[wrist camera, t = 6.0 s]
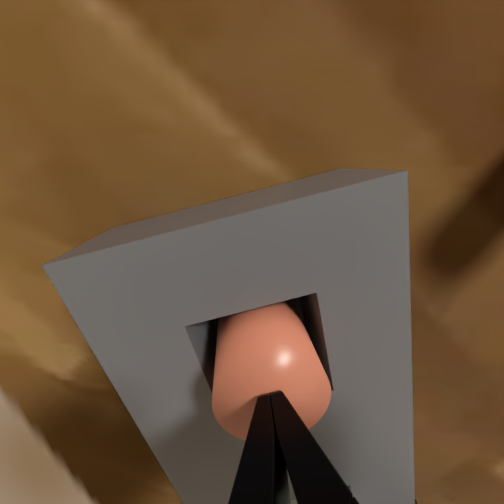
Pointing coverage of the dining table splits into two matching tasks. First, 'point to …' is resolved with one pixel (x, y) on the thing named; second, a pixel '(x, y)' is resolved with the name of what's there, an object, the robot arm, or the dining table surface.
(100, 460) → the dining table surface
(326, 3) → the dining table surface
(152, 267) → the console
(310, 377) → the terracotta plug
